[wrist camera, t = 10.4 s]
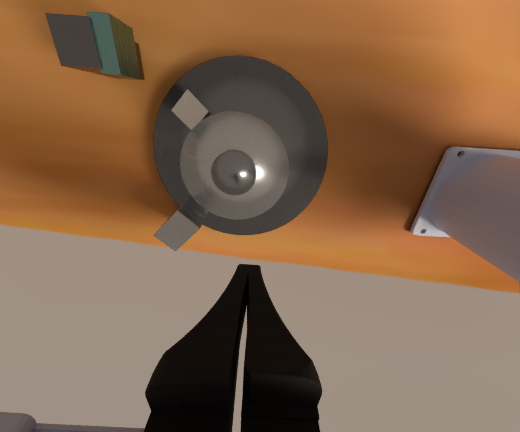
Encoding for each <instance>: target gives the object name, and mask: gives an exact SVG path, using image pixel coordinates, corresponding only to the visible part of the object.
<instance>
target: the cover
mask: <svg viewBox="0 0 520 432" xmlns="http://www.w3.org/2000/svg"><path fill="white" fill-rule="evenodd" d="M180 168H181V174H182V178H183V181H184V184H185V186H186V188H187V190H188V191H189V193H190V195H191V196H192V197H193V198H194V200H195V201H196V202H197V203H198V204H199V205H200V206H202V207H203V208H204V209H206V210H207V211H209V212H210V213H212V214H215V215H217V216H220V217H223V218H227V219H235V220H238V219H248V218H252V217H255V216H258V215H260V214H262V213H264V212H266V211H267V210H268V209H270V208H271V207H272V206H273V205H274V204H275V203H276V202H277V201H278V200H279V198H280V197H281V195H282V194H283V192H284V189H285V187H286V184H287V181H288V175H289V162H288V157H287V152H286V150H285V147H284V145H283V143H282V141H281V139H280V138H279V136H278V135H277V133H276V132H275V130H274V129H273V128H272V127H271V126H270V125H269V124H268V123H267V122H266V121H264V120H263V119H261V118H259V117H258V116H255V115H253V114H250V113H247V112H240V111H226V112H220V113H216V114H213V115H211V116H209V117H207V118H205V119H203V120H202V121H200V122H199V123H198V124H197V125H196V126H195V127H194V128H193V129H192V130H191V131H190V133H189V134H188V136H187V137H186V139H185V141H184V144H183V147H182V151H181V156H180Z"/></svg>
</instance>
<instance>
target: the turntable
mask: <svg viewBox="0 0 520 432" xmlns="http://www.w3.org/2000/svg"><path fill="white" fill-rule="evenodd" d="M226 111H240V112H247V113H250V114H253V115H255V116H258V117H259V118H261V119H263V120H264V121H266V122H267V123H268V124H269V125H270V126H271V127H272V128H273V129H274V130H275V132H276V133H277V135H278V136H279V138H280V139H281V141H282V143H283V145H284V147H285V150H286V152H287V157H288V162H289V175H288V181H287V184H286V187H285V189H284V192H283V194H282V195H281V197H280V198H279V200H278V201H277V202H276V203H275V204H274V205H273V206H272V207H271V208H270V209H268V210H267V211H266V212H264V213H262V214H260V215H258V216H255V217H252V218H248V219H238V220H235V219H227V218H223V217H220V216H217V215H215V214H212V213H210V212H209V211H207V210H206V209H204V208H203V207H202V206H200V205H199V204H198V203H197V202H196V201H195V200H194V198H193V197H192V196H191V195H190V193H189V191H188V190H187V188H186V186H185V184H184V181H183V178H182V174H181V168H180V156H181V151H182V147H183V144H184V141H185V139H186V137H187V136H188V134H189V133H190V131H191V130H192V129H193V128H194V127H195V126H196V125H197V124H198V123H199V122H200V121H202V120H203V119H205V118H207V117H209V116H211V115H213V114H216V113H220V112H226ZM153 144H154V155H155V161H156V165H157V169H158V172H159V175H160V177H161V180H162V182H163V184H164V186H165V187H166V189H167V191H168V193H169V194H170V195H171V197H172V198H173V200H174V201H175V202H176V203H177V204H178V205H179V207H178V208H177V210H176V211H175V212H174V213H173V214H172V215H171V216H170V217H169V218H168V219H167V221H166V222H165V223H164V224H163V225H162V226H161V227H160V229H159V230H158V231H157V232H156V233H155V234H154V235H153V236H155V237H156V238H158V239H159V240H160V241H162V242H163V243H165V244H166V245H167V246H169V247H170V248H171V249H173V250H175V251H176V250H178V249H179V248H180V247H181V246H182V245H183V244H184V243H185V242H186V241H187V240H188V239H189V238H190V237H191V236H192V235H193V234H195V233H196V232H197V231H198V230H199V229H200V227H201V225H202V224H203V225H205V226H207V227H209V228H211V229H214V230H217V231H220V232H223V233H228V234H235V235H254V234H261V233H265V232H268V231H272V230H274V229H277V228H279V227H281V226H283V225H285V224H287V223H288V222H290V221H291V220H293V219H294V218H295V217H297V216H298V215H299V214H300V213H301V212H302V211H303V210H304V209H305V208H306V207H307V206H308V205H309V203H310V202H311V200H312V199H313V198H314V196H315V195H316V193H317V191H318V189H319V187H320V185H321V182H322V179H323V177H324V173H325V169H326V165H327V155H328V145H327V135H326V129H325V125H324V122H323V119H322V116H321V114H320V111H319V109H318V107H317V105H316V103H315V102H314V100H313V98H312V97H311V95H310V94H309V92H308V91H307V90H306V89H305V88H304V87H303V85H302V84H301V83H300V82H299V81H298V80H296V79H295V78H294V77H293V76H292V75H291V74H289V73H288V72H286V71H285V70H283V69H282V68H280V67H279V66H276V65H274V64H272V63H270V62H267V61H265V60H261V59H257V58H254V57H246V56H226V57H221V58H216V59H212V60H209V61H207V62H204V63H202V64H200V65H198V66H196V67H195V68H193V69H191V70H190V71H188V72H187V73H186V74H185V75H183V76H182V77H181V78H180V79H179V80H178V81H177V82H176V83H175V84H174V85H173V87H172V88H171V89H170V90H169V92H168V94H167V95H166V97H165V98H164V100H163V102H162V104H161V107H160V109H159V111H158V115H157V118H156V122H155V128H154V136H153Z"/></svg>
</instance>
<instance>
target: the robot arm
mask: <svg viewBox="0 0 520 432" xmlns="http://www.w3.org/2000/svg"><path fill="white" fill-rule="evenodd" d="M459 152H460V154H459V155H458V153H459ZM457 155H458V156H457ZM422 229H423V230H422ZM421 230H422V231H421ZM410 232H411V233H412V234H413V235H419V236H437V237H452V238H453V239H455V240H456V241H458V242H459V243H461V244H462V245H464V246H465V247H467V248H468V249H470V250H471V251H473V252H474V253H476V254H477V255H479V256H480V257H482V258H483V259H485V260H486V261H488V262H489V263H491V264H492V265H494V266H495V267H497V268H498V269H500V270H501V271H503V272H504V273H506V274H507V275H509V276H510V277H512V278H513V279H515V280H516V281H518V282H519V283H520V151H519V150H503V149H488V148H473V147H457V146H453V147H450V148H448V149H447V150H446V152H445V153H444V156H443V158H442V160H441V162H440V164H439V167H438V169H437V171H436V173H435V176H434V178H433V180H432V182H431V184H430V187H429V189H428V191H427V193H426V195H425V198H424V200H423V202H422V204H421V207H420V209H419V211H418V213H417V215H416V218H415V220H414V222H413V224H412V227H411V229H410ZM246 306H247V338H246V349H245V361H244V377H243V379H244V380H243V398H242V411H241V432H320V429H319V423H318V420H319V413H318V408H317V406H318V403H319V400H320V398H321V395H322V387H321V383H320V380H319V377H318V374H317V371H316V369H315V366H314V364H313V361H312V360H311V359H310V357H309V356H308V355H307V354H306V353H305V352H304V350H303V349H302V348H301V347H300V345H299V344H298V343H297V342H296V340H295V339H294V338H293V336H292V335H291V334H290V332H289V330H288V329H287V328H286V326H285V325H284V323H283V321H282V320H281V318H280V317H279V315H278V313H277V311H276V309H275V307H274V305H273V303H272V301H271V299H270V297H269V295H268V292H267V289H266V287H265V284H264V281H263V278H262V274H261V269H260V266H259V265H247V264H239V265H238V267H237V269H236V272H235V274H234V276H233V277H232V279H231V281H230V283H229V284H228V286H227V288H226V290H225V291H224V292H223V294H222V295H221V297H220V298H219V300H218V301H217V302H216V303H215V305H214V306H213V307H212V308H211V309H210V311H209V312H208V313H207V314H206V315H205V317H203V319H202V320H201V321H200V322H199V323H198V324H197V325H196V326H195V327H194V328H193V329H192V330H190V331H189V332H188V333H187V334H186V335H185V336H184V337H183V338H182V339H181V340H179V341H178V342H177V343H176V344H175V345H173V346H172V347H171V348H170V349H169V350H167V351H166V352H165V353H164V354H163V356H162V358H161V359H160V361H159V363H158V365H157V366H156V368H155V370H154V372H153V374H152V377H151V379H150V381H149V384H148V386H147V389H146V391H145V395H146V398H147V401H148V403H149V406H150V408H151V413H150V416H149V419H148V422H147V424H146V427H145V429H144V428H124V427H103V426H81V425H61V424H41V423H36V420H35V419H34V418H33V417H32V416H30V415H28V414H23V413H8V412H0V432H232V424H233V412H234V400H235V390H236V379H237V367H238V358H239V347H240V340H241V334H242V328H243V323H244V317H245V312H246Z"/></svg>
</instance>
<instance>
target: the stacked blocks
mask: <svg viewBox="0 0 520 432" xmlns="http://www.w3.org/2000/svg"><path fill="white" fill-rule="evenodd" d="M45 14H46V18H47V21H48V24H49V27H50V31H51V34H52V37H53V40H54V44H55V47H56V50H57V53H58V57H59V60H60V63H61V66H66V67H70V68H74V69H79V70H83V71H87V72H92V73H96V74H100V75H105V76H109V77H113V78H123V79H137V80H144V74H143V68H142V62H141V56H140V49H139V44H138V43H136V42H134V36H133V30H132V28H131V27H129V26H127V25H126V24H124V23H123V22H121V21H120V20H118V19H117V18H115V17H113V16H112V15H110V14H109V13H99V12H87V15H88V16H75V15H62V14H48V13H45Z"/></svg>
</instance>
